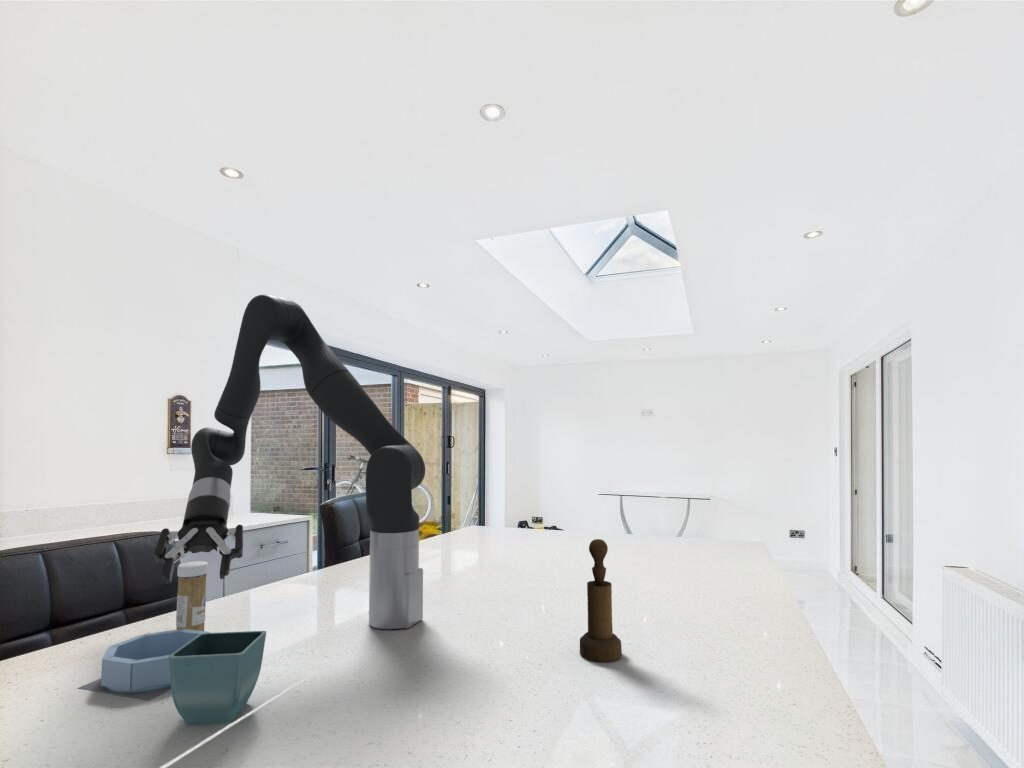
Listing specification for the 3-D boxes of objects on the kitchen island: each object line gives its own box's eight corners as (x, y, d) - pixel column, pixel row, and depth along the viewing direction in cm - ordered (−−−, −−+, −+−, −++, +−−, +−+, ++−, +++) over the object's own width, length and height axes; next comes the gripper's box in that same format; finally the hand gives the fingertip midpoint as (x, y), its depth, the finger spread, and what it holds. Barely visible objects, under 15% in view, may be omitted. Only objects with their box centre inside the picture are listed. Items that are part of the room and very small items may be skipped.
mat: (230, 663, 89) (230, 660, 89) (148, 703, 75) (148, 700, 75) (166, 654, 93) (166, 651, 93) (77, 690, 79) (77, 687, 79)
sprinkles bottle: (206, 644, 97) (209, 563, 98) (174, 650, 94) (178, 567, 96) (203, 637, 101) (206, 559, 102) (173, 642, 98) (177, 562, 99)
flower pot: (197, 701, 76) (200, 631, 77) (265, 698, 77) (267, 629, 77) (162, 736, 67) (166, 656, 68) (240, 732, 68) (242, 653, 69)
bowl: (228, 661, 88) (229, 634, 89) (151, 699, 76) (153, 666, 76) (163, 652, 92) (164, 626, 93) (80, 686, 80) (81, 656, 80)
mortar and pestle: (624, 649, 93) (621, 537, 95) (618, 665, 87) (615, 544, 89) (584, 645, 95) (582, 535, 97) (575, 659, 89) (573, 542, 91)
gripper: (164, 495, 108) (145, 570, 97) (247, 492, 113) (238, 563, 101) (169, 519, 113) (152, 594, 101) (248, 516, 118) (240, 586, 106)
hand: (195, 578), depth 101 cm, fingers open, 8 cm apart
